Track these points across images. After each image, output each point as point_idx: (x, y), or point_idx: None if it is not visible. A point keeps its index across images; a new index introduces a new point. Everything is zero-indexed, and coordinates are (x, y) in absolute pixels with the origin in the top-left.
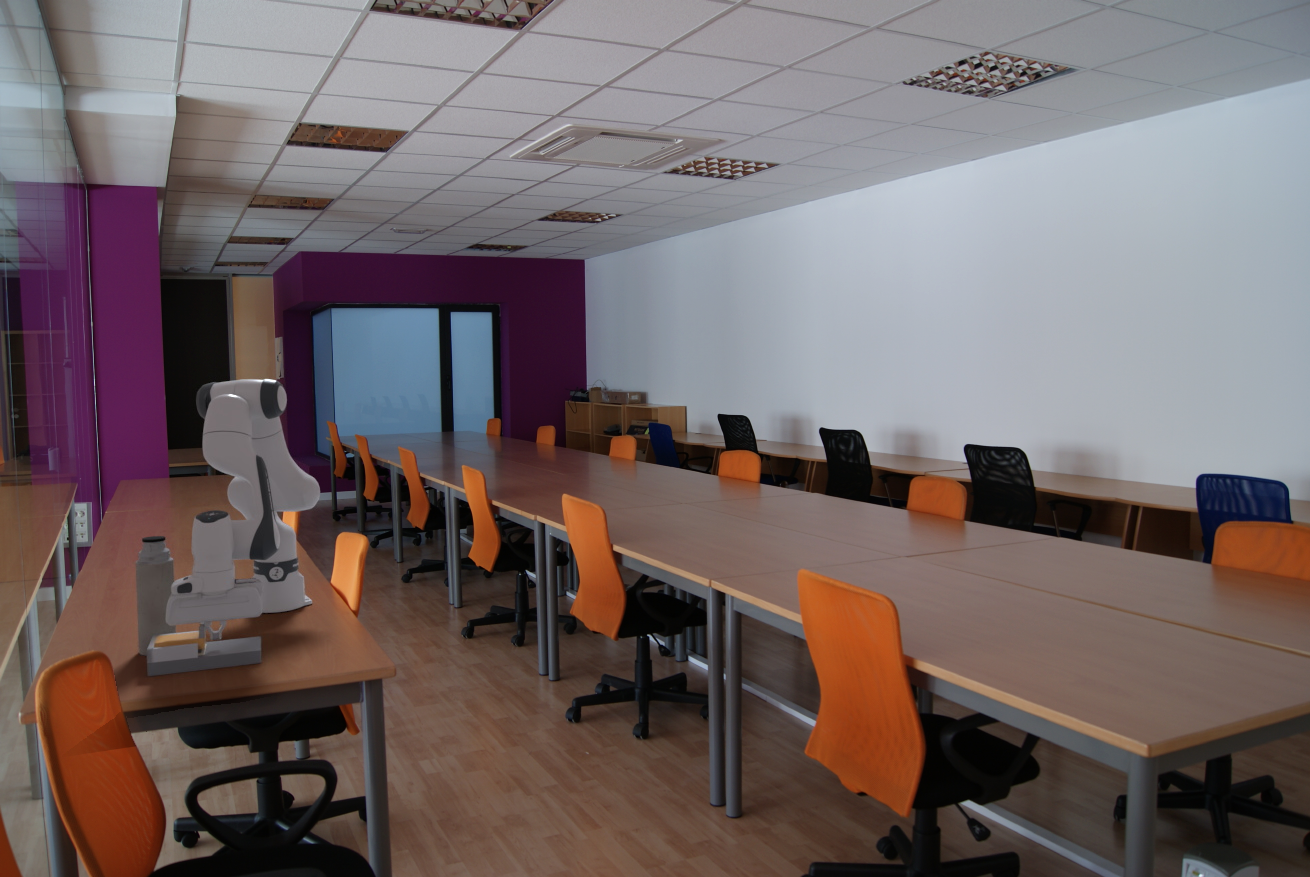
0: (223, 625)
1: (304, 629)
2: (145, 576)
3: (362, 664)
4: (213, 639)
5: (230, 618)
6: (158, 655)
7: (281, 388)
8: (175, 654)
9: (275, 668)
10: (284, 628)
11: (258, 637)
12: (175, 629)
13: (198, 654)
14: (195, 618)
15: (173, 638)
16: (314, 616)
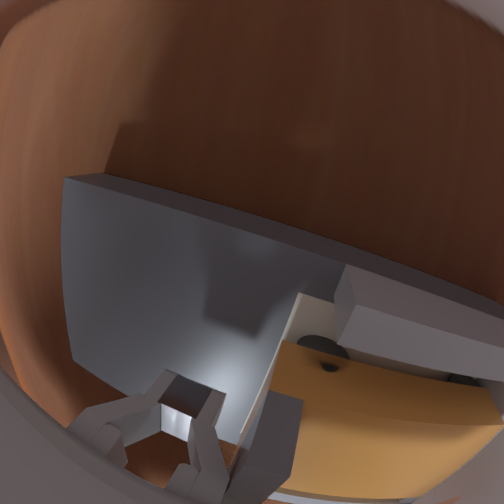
0: (103, 413)
1: (47, 379)
2: None
3: (6, 57)
4: (208, 387)
5: (26, 403)
6: None
7: None
8: (461, 315)
9: (90, 82)
10: (79, 414)
11: (76, 355)
12: None
13: (323, 320)
14: None
15: (410, 462)
16: (54, 417)
